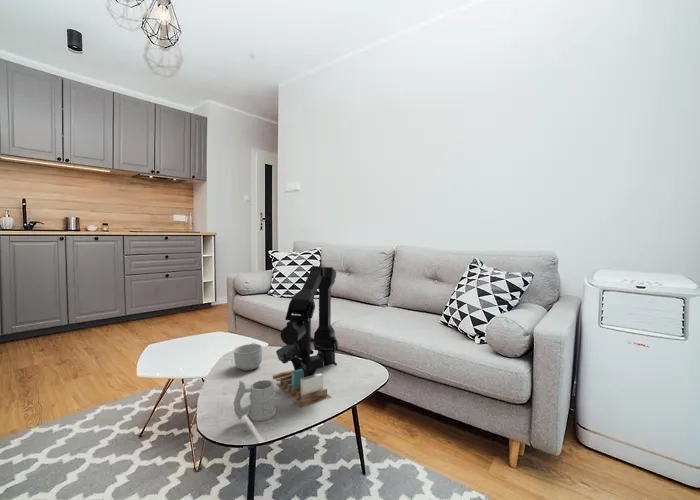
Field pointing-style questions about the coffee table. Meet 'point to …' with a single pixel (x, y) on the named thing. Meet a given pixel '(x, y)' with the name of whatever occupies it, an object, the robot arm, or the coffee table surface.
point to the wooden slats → (282, 374)
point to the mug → (256, 400)
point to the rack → (296, 393)
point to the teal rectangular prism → (297, 377)
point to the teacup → (248, 356)
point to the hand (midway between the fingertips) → (302, 381)
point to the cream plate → (311, 384)
